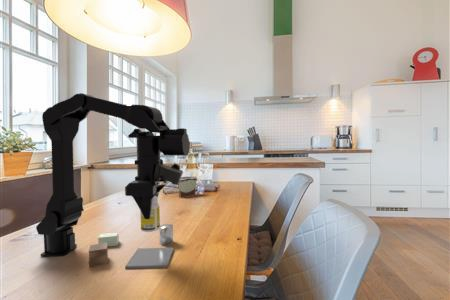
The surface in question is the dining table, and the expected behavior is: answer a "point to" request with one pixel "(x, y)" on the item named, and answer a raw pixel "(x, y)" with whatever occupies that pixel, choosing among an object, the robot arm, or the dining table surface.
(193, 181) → the food container
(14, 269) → the dining table surface
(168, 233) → the metal shaker
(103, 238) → the sage box
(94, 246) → the walnut block
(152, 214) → the supplement bottle
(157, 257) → the coaster
